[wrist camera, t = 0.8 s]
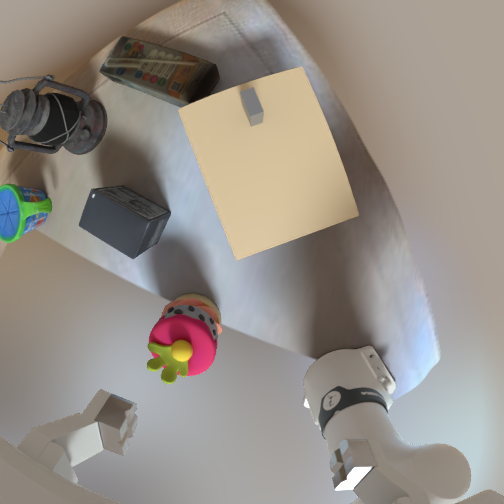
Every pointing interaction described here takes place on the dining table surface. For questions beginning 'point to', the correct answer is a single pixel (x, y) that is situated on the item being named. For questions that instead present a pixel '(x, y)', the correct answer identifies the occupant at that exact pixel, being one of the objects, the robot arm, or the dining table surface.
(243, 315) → the dining table surface
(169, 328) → the cake
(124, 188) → the small box
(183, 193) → the dining table surface
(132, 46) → the beverage carton
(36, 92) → the lantern
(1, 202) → the snack cup
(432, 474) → the robot arm
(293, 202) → the lid flap
